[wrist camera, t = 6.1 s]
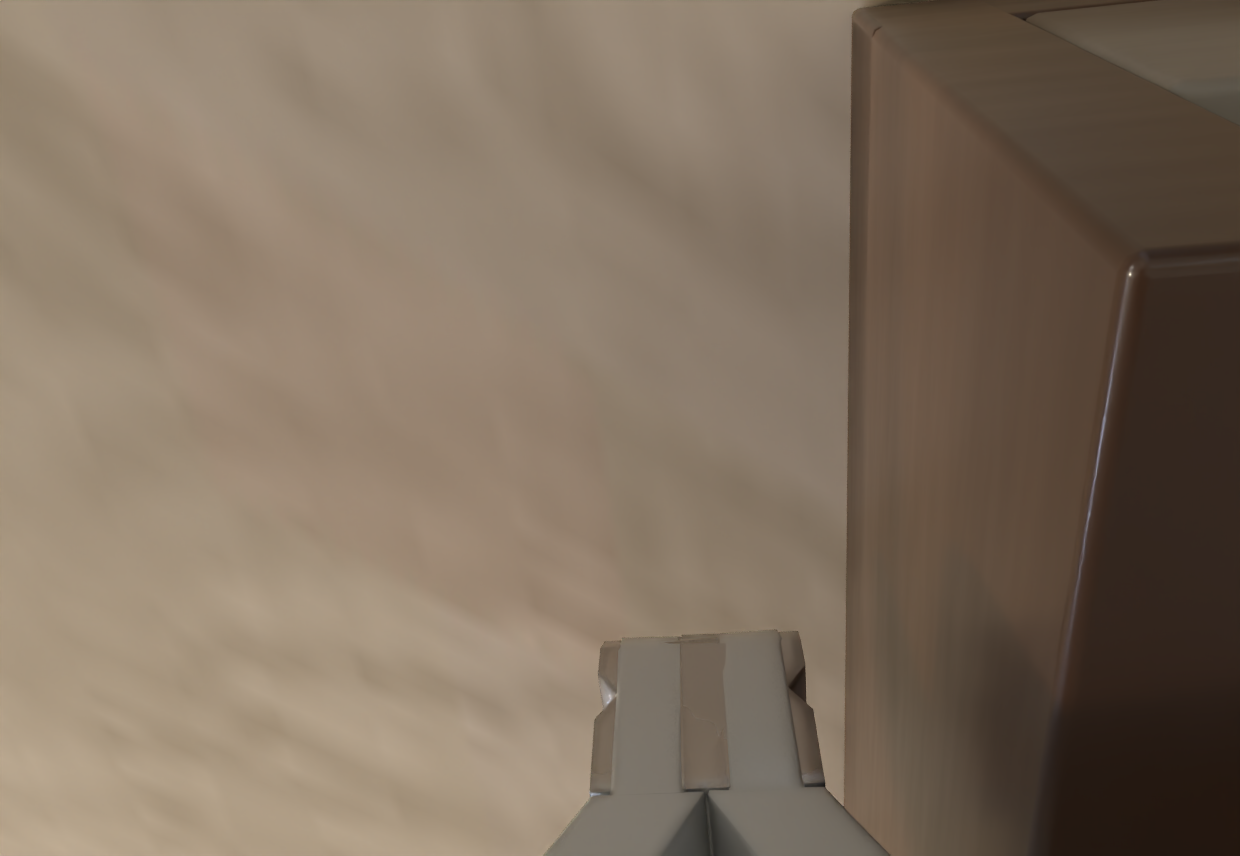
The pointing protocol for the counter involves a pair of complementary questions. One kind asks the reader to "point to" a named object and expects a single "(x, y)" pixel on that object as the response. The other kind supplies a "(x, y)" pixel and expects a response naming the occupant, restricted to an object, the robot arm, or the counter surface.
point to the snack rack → (1044, 428)
